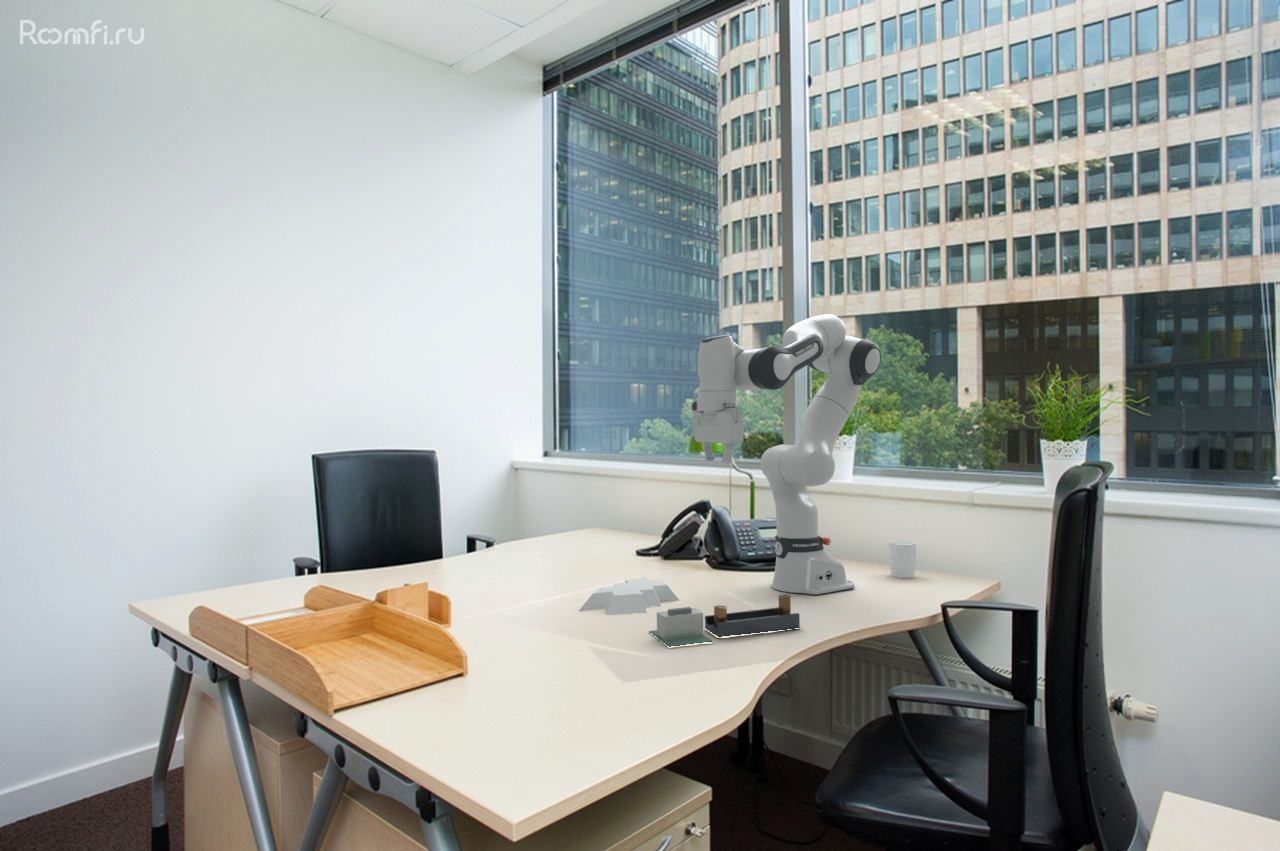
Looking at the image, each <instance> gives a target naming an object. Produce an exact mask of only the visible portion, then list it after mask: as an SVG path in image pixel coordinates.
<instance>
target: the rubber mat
mask: <svg viewBox="0 0 1280 851" xmlns="http://www.w3.org/2000/svg"><path fill="white" fill-rule="evenodd" d="M649 632H650V633H652V634H653V635H654V636H656V637H657V638H658V639H659V640H661V641H662V642H663V643H665V644H666V645H667V646H669V647H671V646H680V645H686V644H694V643H703V642H712V641H713V642H714V640H713V639H711V638H709V636H707V635H705V634H703V636H699V637H690V638H682V639H674V640H666V641H664V640H663V639H662V638H660V637H659V636H657V629H656V630H649V631H648V633H649ZM650 633H649V634H650ZM654 636H653V637H654ZM659 640H658V641H659Z"/></svg>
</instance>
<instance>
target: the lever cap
mask: <svg viewBox="0 0 1280 851" xmlns="http://www.w3.org/2000/svg"><path fill="white" fill-rule="evenodd" d="M656 630H657V636H659V637H660V638H662V639H663V640H664V641H666V640H674V639H682V638H690V637H699V636H703V635H704V612H703V611H701V610H700V609H697V608H696V607H690V606H687V607H686V606H683V607H676V608H675V607H674V608H668V609H667V610H665V611H656Z"/></svg>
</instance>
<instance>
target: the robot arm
mask: <svg viewBox="0 0 1280 851" xmlns="http://www.w3.org/2000/svg"><path fill="white" fill-rule="evenodd" d="M881 354H882V352H881V349H880V347H879V345H878V344H876V343H874V342H873V341H871V340H868V339H862V338H859V337H855V336H850V335H847V330H846V325H845V324H844V321H843V320H842V319H841V318H840V317H839V316H837V315H835V314H830V313H829V314H821V315H820V314H819V315H816V316H812V317H809V318H806V319H803V320H801V321H799V322H796V323H795V324H793V325H791V326H790V327H789V328H788V329H786V331H785V332H784V334H783V337H782V347H781V346H773V345H772V346H767V347H763V348H762V347H761V348H757V349H745V348H743V347H742V346H740V345H739V344H737V343H736V342H735V341H734V339H733V336H731V335H729V334H722V335H715V336H710V337H706V338H704V339H702V341H701V342H700V344H699V348H698V356H697V374H698V377H699V386H698V394H697V397H696V399H695V400H693V402H691V406H690V410H691V412H692V413H693V414H692V430H693V438H694V441H695V442H698V443H702V446H701V447H702V451H703V453H704V460H705V461H706V462H714V461H715V453H713V452H714V451H713V448H712V447H713V446H714V445H713V444H723V449H724V451H723V455H721V458H722V460H721V463H723V464H732V462H733V461H732V460H733V459H732V458H733V454H734V451H735V445H736V444H739V445H740V444H742V443H743V441H744V426H743V425H744V423H743V417H742V414H741V412H740V411H739V408H738V406H737V393H736V391H747V390H748V391H750V390H751V391H754V390H770V391H775V390H776V391H777V390H780V389H781V388H783V387H784V386H785V385H786V384H787V383H788V382H789V380H790V379H791V378H792V377H793V375H794V374H795V373H797V372H798V371H800V370H802V369H803V368H805V367H806V366H807V367H809V368H811V369H813V370H815V371H819V372H823V373H827V377H826V380H825V382H824V383H822V385H821V386H820V387H819V389H818V390H817V392H816V393H815V394H814V396H813V398H812V400H811V401H810V403H809V404H808V406H807V407H806V409H805V411H804V412H803V414H802V416H801V418H800V420H799V427H800V428H801V432H800V435H799V438H798V440H797V441H796V442H795V444H778V445H775V446H771V447H769V448H767V449H766V450H765V451H764V452H763V454H762V455H761V458H760V470H761V472H762V473H763V475H764V476H765V477H766V479H767V481H768V484H769V487H770V491H771V493H772V496H773V501H774V506H775V516H776V520H775V521H776V535H775V536H774V548H775V549H774V550H775V553H774V554H775V556H776V557H775V558H776V559H775V568H774V575H773V578H772V579H773V580H772V583H771V588H772V589H774V590H776V591H781V592H784V593H785V592H787V593H794V594H795V593H797V594H807V595H821V594H826V593H827V594H828V593H832V592H838V591H843V590H849V589H853V588H855V583H854V582H853V581H852V580H850V579H848V578H847V575H846V569H845V567H844V565H843V563H842V562H841V560H838V559H837V558H836V557H835V556H833V555H832V554H830V553H829V552H828V551H827V550H826V549H825V548H824V547H825V546H830V545H831V544H832V540H831V538H830V537H826V536H824V537H821V536H820V535H819V528H818V527H819V526H818V524H819V523H818V514H819V513H818V507H817V505H816V504H815V502H814V501H813V499H812V498H811V495H810V492H809V490H808V488H812V487H818V486H823V485H825V484H827V483H829V482H830V481H831V480H832V478H833V476H834V473H835V469H836V465H835V463H836V462H835V460H834V457H833V451H834V446H835V443H836V441H837V439H838V437H839V435H840V433H841V431H842V430H843V428H844V426H845V424H846V422H847V421H848V419H849V417H850V416H851V414H852V412H853V410H854V408H855V407H856V404H857V401H858V399H859V396H860V393H861V385H864V384H865V383H866V382H867V381H869V380H870V379H871V378H872V377H873V376H874V375H875V374H876V373H877V371H878V370H879V368H880V365H881V361H882V355H881ZM824 545H825V546H824Z"/></svg>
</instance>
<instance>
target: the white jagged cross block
mask: <svg viewBox="0 0 1280 851" xmlns="http://www.w3.org/2000/svg"><path fill="white" fill-rule="evenodd" d="M662 600H678V601H680V598H678V596H677V595H676V594H675V593H674V592H673V591H672V589H671V588H670V586H669V585H668V584H666V582H664V580H663V579H662V578H661V579H660V578H659V579H647V577H646V576H641V577H636V578H635V577H634V578H629V579H625V582H623V583H615V584H614V586H611V587H599V588H598V589H596V590H595V591H594V592H593V593H592V594H591V595H590V596H589V597H588V599H587V600H586V601H585V602H584V604H583V605H582V606H581V607H580V609H579V610H578V612H582V611H590V610H591V611H593V610H601V609H605V610H604V611H605V615H606V616H616V615H632V613H645V614H647V608H651V607H650V606H658V607H662V603H661V602H663V601H662ZM660 603H661V604H660Z"/></svg>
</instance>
